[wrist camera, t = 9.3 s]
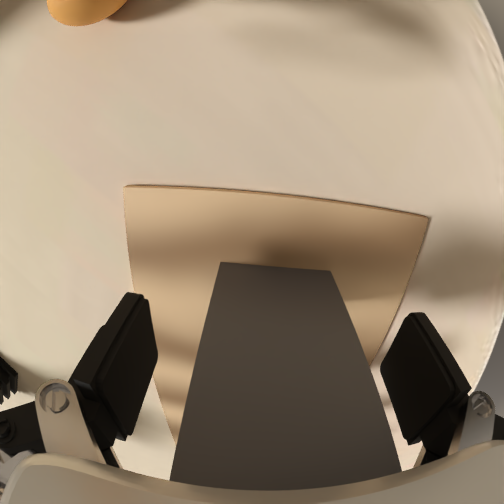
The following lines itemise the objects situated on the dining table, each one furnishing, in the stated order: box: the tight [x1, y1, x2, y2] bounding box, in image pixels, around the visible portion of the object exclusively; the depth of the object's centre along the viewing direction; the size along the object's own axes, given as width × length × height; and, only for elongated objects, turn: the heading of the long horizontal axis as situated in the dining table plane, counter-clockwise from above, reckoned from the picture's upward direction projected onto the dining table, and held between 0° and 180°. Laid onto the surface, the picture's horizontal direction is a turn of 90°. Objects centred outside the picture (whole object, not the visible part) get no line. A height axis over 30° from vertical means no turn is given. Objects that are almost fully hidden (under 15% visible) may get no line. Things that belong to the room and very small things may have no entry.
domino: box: [170, 262, 402, 491], centre depth 8 cm, size 2×5×10 cm, turn 85°
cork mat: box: [123, 185, 429, 445], centre depth 18 cm, size 32×14×1 cm, turn 175°
